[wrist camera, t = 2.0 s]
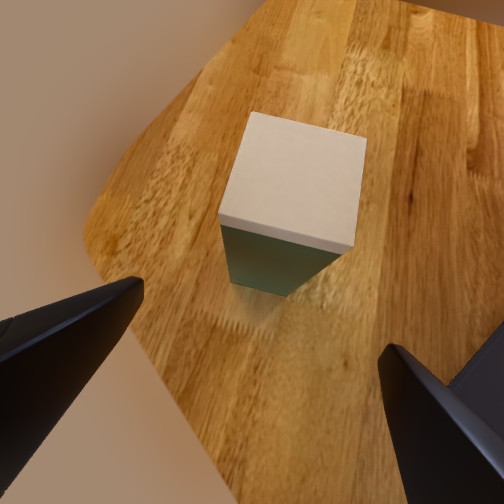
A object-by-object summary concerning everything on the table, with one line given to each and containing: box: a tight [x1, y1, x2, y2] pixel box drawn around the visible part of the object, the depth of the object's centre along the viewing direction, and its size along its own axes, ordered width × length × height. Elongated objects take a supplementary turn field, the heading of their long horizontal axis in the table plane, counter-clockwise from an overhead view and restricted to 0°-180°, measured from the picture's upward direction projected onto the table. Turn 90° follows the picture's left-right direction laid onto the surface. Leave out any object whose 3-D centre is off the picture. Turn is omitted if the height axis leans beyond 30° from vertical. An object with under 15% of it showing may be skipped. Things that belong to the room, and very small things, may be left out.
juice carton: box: [218, 111, 367, 296], centre depth 16 cm, size 5×5×13 cm
